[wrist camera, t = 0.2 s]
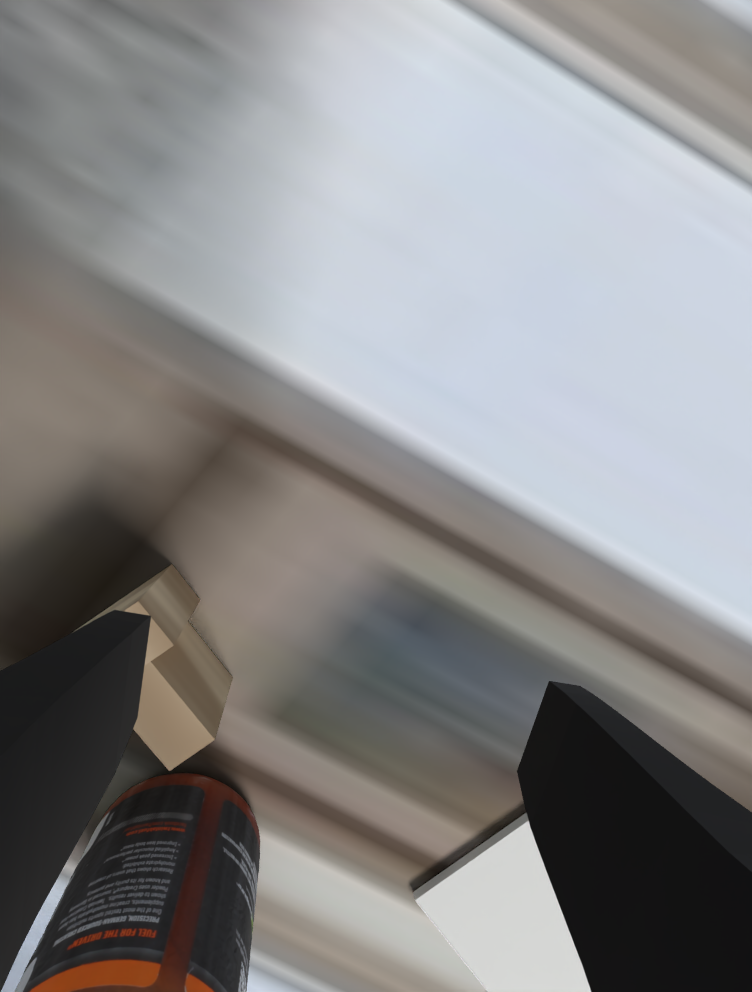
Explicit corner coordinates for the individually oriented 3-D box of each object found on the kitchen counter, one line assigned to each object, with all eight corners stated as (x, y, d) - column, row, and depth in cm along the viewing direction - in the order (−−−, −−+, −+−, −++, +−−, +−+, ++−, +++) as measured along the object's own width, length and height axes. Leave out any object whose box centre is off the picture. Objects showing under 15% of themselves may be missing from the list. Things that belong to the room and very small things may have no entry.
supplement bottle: (62, 826, 21) (-223, 1305, 10) (199, 733, 21) (75, 1100, 10) (164, 938, 22) (13, 1484, 11) (294, 849, 22) (279, 1298, 11)
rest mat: (527, 1037, 24) (531, 1047, 24) (413, 891, 23) (415, 900, 22) (700, 914, 25) (706, 923, 24) (598, 761, 23) (603, 767, 22)
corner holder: (-28, 856, 20) (-107, 962, 17) (-119, 763, 20) (-226, 850, 16) (251, 665, 21) (237, 723, 17) (172, 563, 20) (138, 601, 16)
